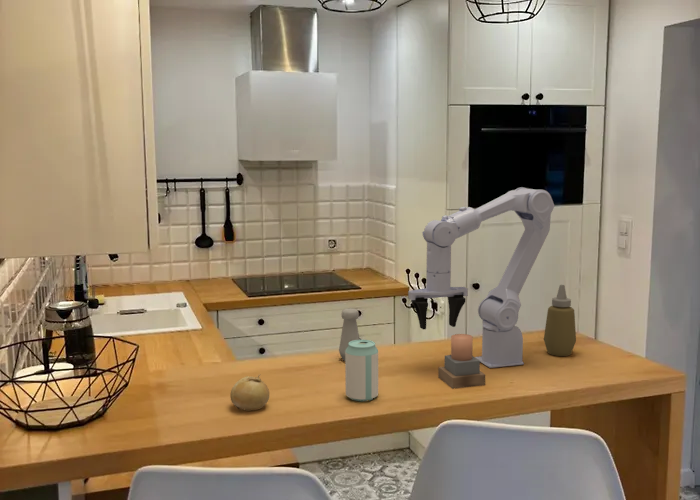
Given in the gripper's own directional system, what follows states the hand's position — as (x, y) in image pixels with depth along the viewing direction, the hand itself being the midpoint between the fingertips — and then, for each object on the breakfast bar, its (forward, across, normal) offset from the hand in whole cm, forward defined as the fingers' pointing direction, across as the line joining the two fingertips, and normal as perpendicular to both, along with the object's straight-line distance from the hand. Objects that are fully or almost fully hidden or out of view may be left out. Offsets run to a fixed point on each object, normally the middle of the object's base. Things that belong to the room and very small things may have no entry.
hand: (437, 327), depth 171 cm
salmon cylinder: (+5, -2, +10) cm, 11 cm away
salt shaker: (+11, +18, -14) cm, 25 cm away
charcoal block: (+8, -2, +10) cm, 13 cm away
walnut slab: (+11, -2, +10) cm, 15 cm away
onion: (+11, +47, +11) cm, 49 cm away
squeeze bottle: (+11, -35, -2) cm, 37 cm away
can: (+11, +23, +12) cm, 28 cm away
